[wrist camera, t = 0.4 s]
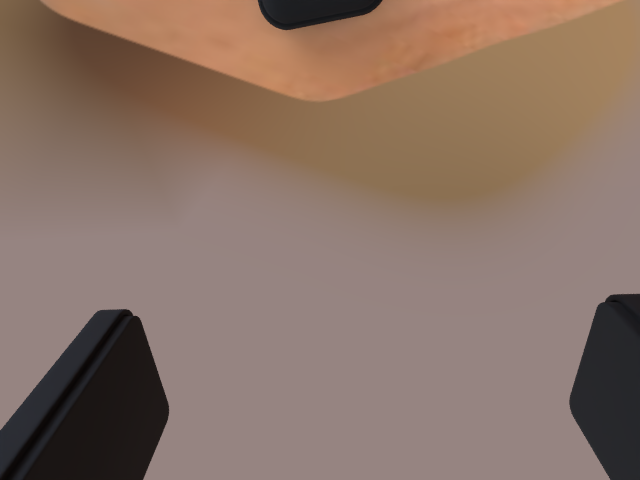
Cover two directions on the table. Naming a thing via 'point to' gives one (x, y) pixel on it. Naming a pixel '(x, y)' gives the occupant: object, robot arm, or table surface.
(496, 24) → the table surface
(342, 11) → the carrying case
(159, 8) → the table surface
